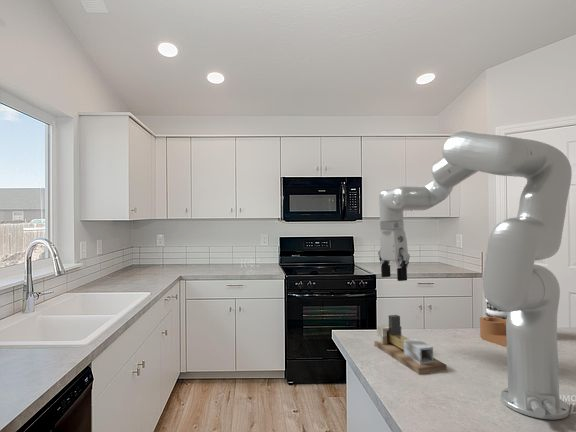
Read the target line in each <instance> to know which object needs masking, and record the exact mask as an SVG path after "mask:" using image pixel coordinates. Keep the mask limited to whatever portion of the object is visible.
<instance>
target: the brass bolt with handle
mask: <svg viewBox="0 0 576 432" xmlns="http://www.w3.org/2000/svg"><path fill="white" fill-rule="evenodd" d="M388 325H389V331H387V341H389V342H391V343H392V344H394V345H396V346H397V347H399V348H401V349H403V350H404V340H408V339H409V337H407V336H404V335H403V334H402V335H401V334H400V326H401V316H400V315H398V314H391V315H388Z"/></svg>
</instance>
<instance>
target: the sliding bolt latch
mask: <svg viewBox="0 0 576 432" xmlns="http://www.w3.org/2000/svg"><path fill="white" fill-rule="evenodd" d="M387 331H389V324H381V325H377V340H374V346H375V347H376V348H378V349H379V350H381V351H383V353H385V354H387V355H388V356H390V357H392V358H393V359H394V360H396V361H397V362H399V363H400V364H402V365H404V366H406V367H407V368H408V369H410V370H411V371H413V372H415V373H416V374H417V375H424V374H430V373H436V372H443V371H447V364H445V363H443V362H442V361H440V360H438V359H437V358H435V357H434V346H432V345H430V344H428V343H426V342H424V341H422V340H421V339H418V338H408V340H404V350H403V349H401V348H399V347H397V346H396V345H394V344H392V343H391V342H389V341H387ZM400 334H401V335H403V334H402V325H400Z"/></svg>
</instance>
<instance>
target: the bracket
mask: <svg viewBox="0 0 576 432" xmlns="http://www.w3.org/2000/svg"><path fill="white" fill-rule="evenodd" d="M479 332H480V333H479V337H481V338H482V339H481V338H480V339H481V340H483V341H485V340H486V342H489V343H492V344H494V345H498V346H501V347H504V348H507V339H506V320H505V319H502V318H497V317H487V316H485V317H483V316H481V317H480V318H479Z"/></svg>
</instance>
